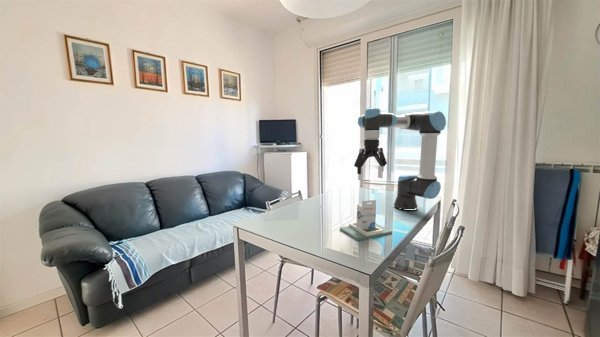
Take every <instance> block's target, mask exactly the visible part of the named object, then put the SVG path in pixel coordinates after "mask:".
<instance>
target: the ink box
mask: <svg viewBox="0 0 600 337" xmlns="http://www.w3.org/2000/svg"><path fill="white" fill-rule="evenodd" d="M376 215H377V200H376V199H373V200H362V201H361V203H360V204H356V222H357V226H358V227H359V228H361V229H365V228H373V227H375V223H376V218H377V216H376Z"/></svg>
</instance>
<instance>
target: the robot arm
mask: <svg viewBox="0 0 600 337" xmlns="http://www.w3.org/2000/svg"><path fill="white" fill-rule="evenodd" d="M357 124H358V126H359V128H361V129H362V128H363V129H364V133H363V134H364V135H363V136H364V139H363V146H364V148H359V152H358V155H357V156H356V159H355V162H354V165H353V166H354V167H355V168H356V170H357V171H356V172H357V173H356V174H357V179H358V181H361V182H363V180H364V179H363V177H364V176H363V175H364V173H363V172H364V168H363V167H364V164H365V163H366V162H367V160H368V158H373V157H374V159H375V160H376V162H377V164H378V166H377V178H379V179H383V176H384V174H383V173H384V168H385V167H386V165H387V164H388V162H387V159H386V157H385V156H386V155H385V154H384V148H383V147H379V146H380V131H381V128H383V129H384V128H388V129H389V128H390V129H391V128H394V129H395V128H399V129H401V130H409V131H410V130H411V131H415V132H416V131H417V132H418V134H419V135H420V136H421V142H420V143H421V144H420V160H419V172H418V173H419V174H417V175H416V174H401V175H399V176H398V178H397V192H396V194H397V195H396V197H395V201H394V203H393V207H394V206H395V207H397V208H401V209H415V208H417V207H418V203H417V199H416V197H419V198H424V199H430V200H433V199H435V198H436V197H437V196H438V195H440V191H441V187H442V186H441V182H440V181H438V177H437V176H436V160H437V148H438V137H439V135H441V132H442V131H443V130H444V129H445V128H446V125H447V120H446V117H445V115H444V113H443V112H442V111H441V110H440V111H439V110H430V111H429V110H428V111H420V112H419V111H418V112H412V113H402V114H401V115H398V114H397V115H396V114H394V113H392V112H381V109H380V108H377V107H375V108H374V107H373V108H367V109H366V110H365V111H364V114H362V115H360V116H359V117H358V119H357ZM395 207H394V208H395ZM418 208H419V207H418ZM418 208H417V209H418Z"/></svg>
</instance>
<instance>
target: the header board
mask: <svg viewBox="0 0 600 337" xmlns="http://www.w3.org/2000/svg"><path fill="white" fill-rule="evenodd" d="M348 224H349V225H346V226H342V227H339V230H340V231H341V232H342V233H344V234H345V235H347V236H349V237H351V238H352V239H354V240H356V241H357V242H359V241H363V240H368V239H373V238H377V237H381V236H387V235H390V234H391V235H392V233H393V230H391V229H388V228H386V227H384V226H382V225H380V224H378V223H376V222H375V227H373V228H365V229H361V228H359V227H358V226H357V221H356V222H355V221H354V222H350V223H348Z"/></svg>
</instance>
